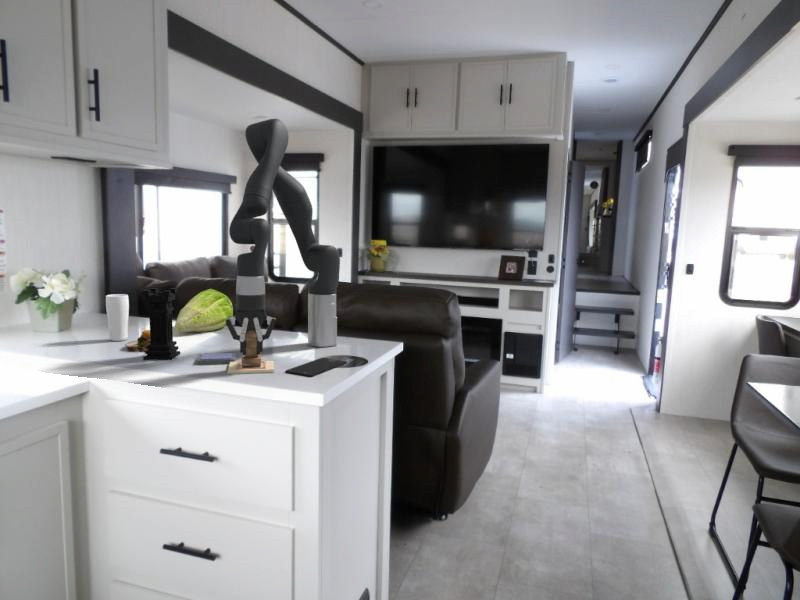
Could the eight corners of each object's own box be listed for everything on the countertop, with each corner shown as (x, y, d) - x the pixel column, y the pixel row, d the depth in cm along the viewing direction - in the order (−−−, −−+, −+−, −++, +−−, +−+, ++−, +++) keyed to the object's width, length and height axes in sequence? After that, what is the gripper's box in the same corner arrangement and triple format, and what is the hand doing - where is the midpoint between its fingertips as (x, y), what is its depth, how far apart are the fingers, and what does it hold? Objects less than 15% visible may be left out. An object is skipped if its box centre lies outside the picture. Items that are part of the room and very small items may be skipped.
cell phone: (347, 364, 162) (347, 361, 162) (311, 378, 146) (311, 375, 146) (322, 360, 166) (322, 357, 166) (284, 374, 150) (284, 370, 150)
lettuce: (203, 350, 193) (170, 351, 200) (243, 317, 213) (212, 318, 220) (187, 313, 188) (153, 315, 194) (230, 282, 208) (198, 285, 214)
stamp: (261, 362, 156) (260, 326, 154) (260, 367, 151) (260, 329, 150) (242, 363, 155) (242, 326, 153) (241, 367, 150) (241, 330, 149)
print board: (273, 363, 159) (273, 359, 159) (274, 372, 150) (273, 368, 149) (230, 364, 156) (230, 361, 156) (227, 373, 147) (227, 370, 147)
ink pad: (235, 357, 165) (235, 352, 165) (234, 363, 158) (234, 358, 158) (200, 357, 163) (200, 353, 163) (196, 364, 155) (196, 359, 155)
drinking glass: (102, 340, 183) (100, 295, 181) (119, 337, 189) (118, 293, 187) (117, 342, 180) (115, 297, 178) (134, 339, 186) (133, 295, 184)
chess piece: (153, 353, 167) (150, 287, 164) (180, 353, 168) (178, 288, 165) (143, 359, 159) (140, 290, 157) (171, 360, 160) (169, 291, 157)
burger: (153, 342, 183) (152, 320, 182) (174, 348, 176) (173, 324, 175) (117, 349, 173) (116, 325, 172) (137, 354, 166) (136, 330, 165)
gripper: (277, 290, 155) (277, 350, 158) (224, 290, 152) (225, 352, 155) (277, 293, 148) (277, 356, 151) (222, 294, 145) (223, 358, 147)
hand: (251, 354), depth 153 cm, fingers closed on stamp, 3 cm apart
